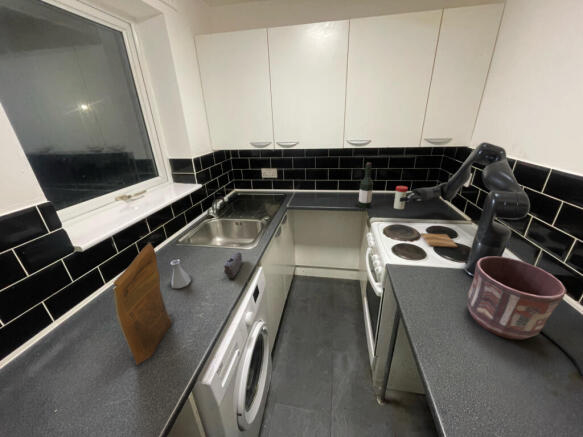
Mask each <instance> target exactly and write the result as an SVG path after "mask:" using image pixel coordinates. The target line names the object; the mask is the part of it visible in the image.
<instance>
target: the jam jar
mask: <svg viewBox="0 0 583 437" xmlns="http://www.w3.org/2000/svg"><path fill="white" fill-rule="evenodd" d="M407 192H408V191H407ZM407 192H399V191H396V190H395V193H394V194H395V198H394V202H393V209H395V210H404V209H405V206H406V201H403V202H400V198H402V197H406V194H407Z"/></svg>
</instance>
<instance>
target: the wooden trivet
mask: <svg viewBox="0 0 583 437" xmlns="http://www.w3.org/2000/svg"><path fill="white" fill-rule="evenodd" d="M420 235H421V237H423V240H424V241H425V242H426V243H427V245H428V246H429V247H435V248H455V249H458V246H459V245H457V244H456V243H455V242H454V241H453V239H452V238H451V237H450V236H449V235H448V234H445V233H423V232H422V233H421V234H420Z"/></svg>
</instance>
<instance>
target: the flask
mask: <svg viewBox="0 0 583 437" xmlns="http://www.w3.org/2000/svg"><path fill="white" fill-rule="evenodd" d="M170 265H171V266H172V278H171V284H170V285H171V288H172V289H182V288H184V287H187V286H189V284H190V283H191V281H192V279H191V277H190V276H189V274H188V273H187V272H186V271H185V270H184V268H182V266H181V261H180V259H174V260H172V261H171V262H170Z"/></svg>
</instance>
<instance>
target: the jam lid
mask: <svg viewBox="0 0 583 437" xmlns="http://www.w3.org/2000/svg"><path fill="white" fill-rule="evenodd" d="M408 190H409V187H408V186H406V185H397V186H395V192H396V191H399V192H409V191H408Z"/></svg>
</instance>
